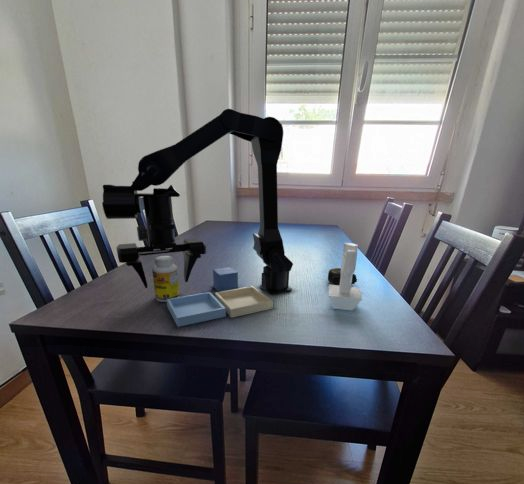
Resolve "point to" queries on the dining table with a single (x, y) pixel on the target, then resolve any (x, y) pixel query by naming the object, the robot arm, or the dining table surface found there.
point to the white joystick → (346, 282)
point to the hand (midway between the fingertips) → (166, 284)
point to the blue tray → (195, 308)
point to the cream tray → (243, 301)
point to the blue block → (225, 279)
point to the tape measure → (338, 276)
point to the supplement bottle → (165, 278)
